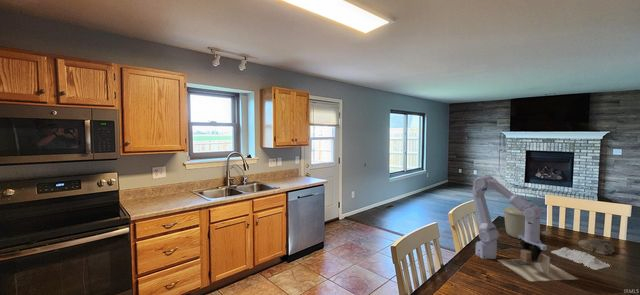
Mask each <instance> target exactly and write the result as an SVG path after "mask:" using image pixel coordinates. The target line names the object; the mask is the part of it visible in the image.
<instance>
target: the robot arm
mask: <svg viewBox="0 0 640 295" xmlns="http://www.w3.org/2000/svg"><path fill="white" fill-rule="evenodd" d="M472 183H473V185H472V189H471V190H472V191H471V193H472V197H473V200H474V204H475V208H476V211H477V215H478V219H479V222H480V225H479V228H478V231H479V232H478V237H479V239H480V240H479V241H476V242H475V255H476V256H477V257H479V258H481V259H482V260H484V259H490V260H494V259H497V252H498V251H497V250H498V249H497V248H498V246H497V245H498V239H499V238H500V232H499V230H498V229H497V226H496V224H494V223H493V222H492V218H491V215H490V212H489V208H488V204H487V200H486V197H485V193H486V192H487V190H494V191H495V192H498V193H499V194H500V195H502V196H504V197H505V198H507V199H508V200H509V203H510V205H512V207H516V208H517V209H519V210H520V211H521V212H523V215H524V216H525V236H524V235H522V234H521V235H518V238H517V239H519V240H522V241H519V243H520V245H521V248H522V250H529V249H530V250H531V255H532V261H537V260H538V257H539V255H540V253H541V252H543V251H547V249H548V246H547V245H546V244H544V243H543V242H542V241H541V239H540V233H541V216H542V215H543V209H542V208H541V207H540V205H536V204H534V203H533V202H530V201H528V200H527V199H525V197H524V196H523V195H520V194H515V193H513V192H512V191H511V190H509V189H508V188H507V187H505V186H504V185H503V184H501V183H500V182H499V181H498V179H496V178H494V177H493V176H491V175H484V176H478V177H476V178H475V179H474V180H473V181H472Z"/></svg>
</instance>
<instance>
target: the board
mask: <svg viewBox="0 0 640 295" xmlns="http://www.w3.org/2000/svg"><path fill="white" fill-rule="evenodd" d="M497 262H499V263H500V264H502V265H503V266H505V267H507V268H509V270H511V271H513V272H514V273H516V274H517V275H519V276H520V277H522V278H524V279H525V280H527V281H528V282H546V281H567V280H568V281H570V280H579V278H578V277H577V276H575V275H573V274H570V273H569V272H567V271H565V270H564V269H561V268H559V267H557V266H556V265H553V264H552V263H550V274H546V273H544V272H542V271H541V270H539V269H537V268H535V267H534V263H525V262H523V261H522V260H520V258H514V259H512V258H510V259H509V258H508V259H497Z"/></svg>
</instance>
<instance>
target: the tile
mask: <svg viewBox="0 0 640 295" xmlns="http://www.w3.org/2000/svg"><path fill="white" fill-rule="evenodd" d="M550 264H551V257H550V256H548V255H546V254H545V253H542V263H534V267H535V268H537V269H539V270H541V271H542V272H544V273H546V274H550Z"/></svg>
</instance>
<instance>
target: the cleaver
mask: <svg viewBox="0 0 640 295" xmlns="http://www.w3.org/2000/svg"><path fill="white" fill-rule="evenodd" d="M541 234H543V235H554V236H557V237H561V238H563V239H565V240H571V238H570V237H568V236H565V235H564V236H563V235H561V234H557V233H554V232H550V231H547V230H544V231H542V232H541Z"/></svg>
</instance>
